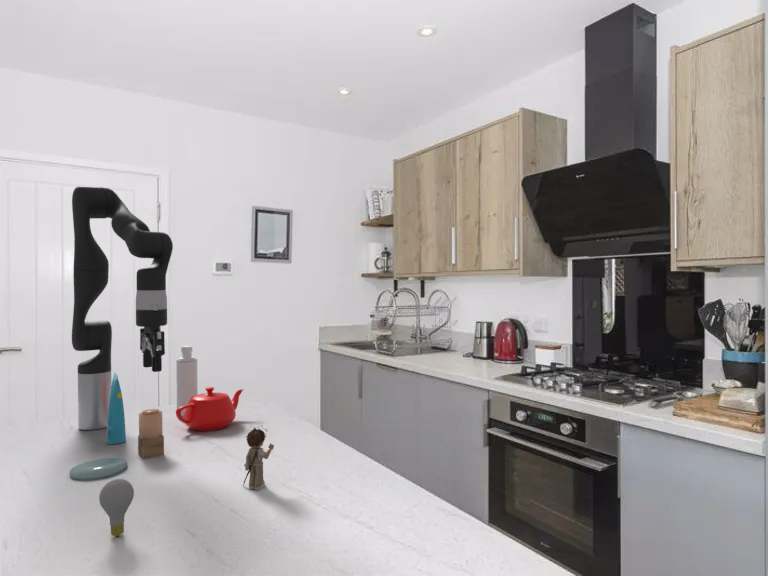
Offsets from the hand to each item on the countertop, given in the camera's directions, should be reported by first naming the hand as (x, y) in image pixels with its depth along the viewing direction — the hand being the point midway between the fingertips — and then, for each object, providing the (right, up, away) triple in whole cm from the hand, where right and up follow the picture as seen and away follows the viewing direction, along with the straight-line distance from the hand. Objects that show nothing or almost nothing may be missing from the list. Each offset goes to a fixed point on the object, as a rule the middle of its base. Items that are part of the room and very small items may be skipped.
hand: (152, 369), depth 135 cm
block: (0, -23, 0) cm, 23 cm away
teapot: (+7, -22, +27) cm, 36 cm away
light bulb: (+13, -23, -44) cm, 51 cm away
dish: (-8, -23, -12) cm, 26 cm away
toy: (+33, -23, -22) cm, 45 cm away
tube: (-15, -23, +11) cm, 29 cm away
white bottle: (-6, -22, +41) cm, 47 cm away
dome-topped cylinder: (0, -18, 0) cm, 18 cm away
